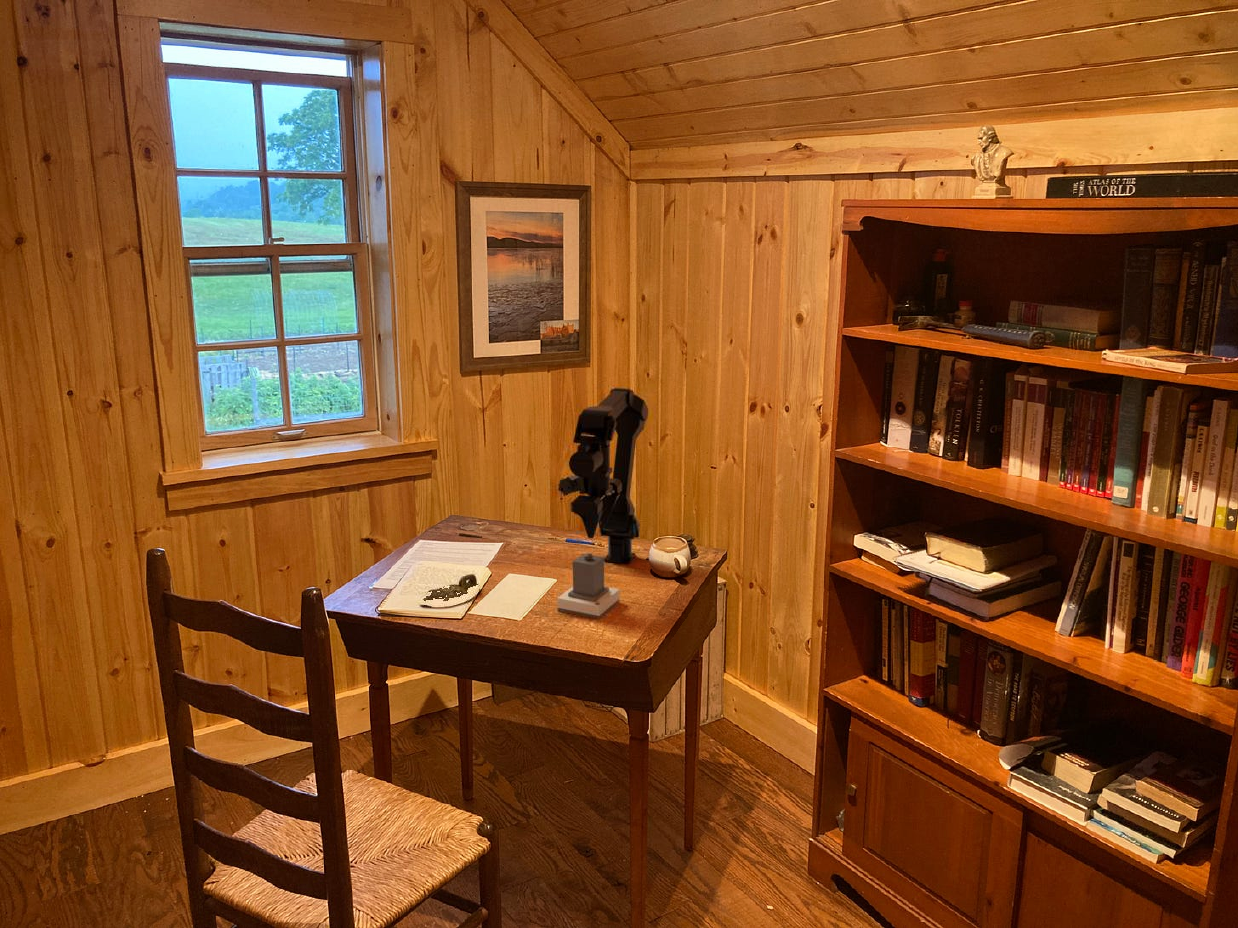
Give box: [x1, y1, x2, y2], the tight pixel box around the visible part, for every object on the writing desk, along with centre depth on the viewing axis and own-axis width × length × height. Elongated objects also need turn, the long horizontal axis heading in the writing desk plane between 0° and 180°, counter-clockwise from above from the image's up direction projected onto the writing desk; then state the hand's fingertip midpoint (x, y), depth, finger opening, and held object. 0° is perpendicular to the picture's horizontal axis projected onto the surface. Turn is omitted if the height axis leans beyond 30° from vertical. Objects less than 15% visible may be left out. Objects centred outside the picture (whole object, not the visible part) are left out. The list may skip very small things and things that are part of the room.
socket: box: [556, 586, 620, 620], centre depth 215 cm, size 10×10×3 cm
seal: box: [423, 573, 479, 601], centre depth 219 cm, size 9×5×15 cm
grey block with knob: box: [568, 553, 610, 602], centre depth 213 cm, size 7×7×11 cm
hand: (597, 531), depth 223 cm, fingers open, 9 cm apart
